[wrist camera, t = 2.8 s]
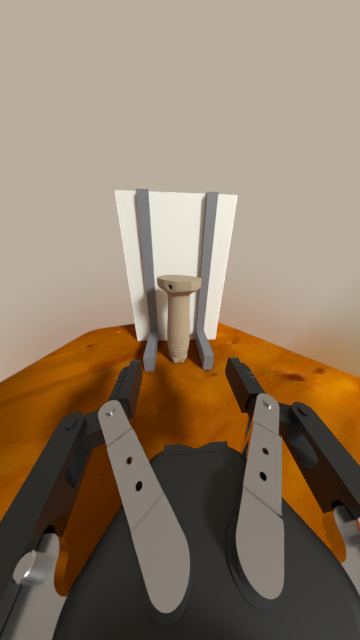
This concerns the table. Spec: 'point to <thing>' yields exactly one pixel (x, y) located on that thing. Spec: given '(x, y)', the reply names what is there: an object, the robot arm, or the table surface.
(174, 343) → the handle
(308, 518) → the table surface
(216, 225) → the rack
